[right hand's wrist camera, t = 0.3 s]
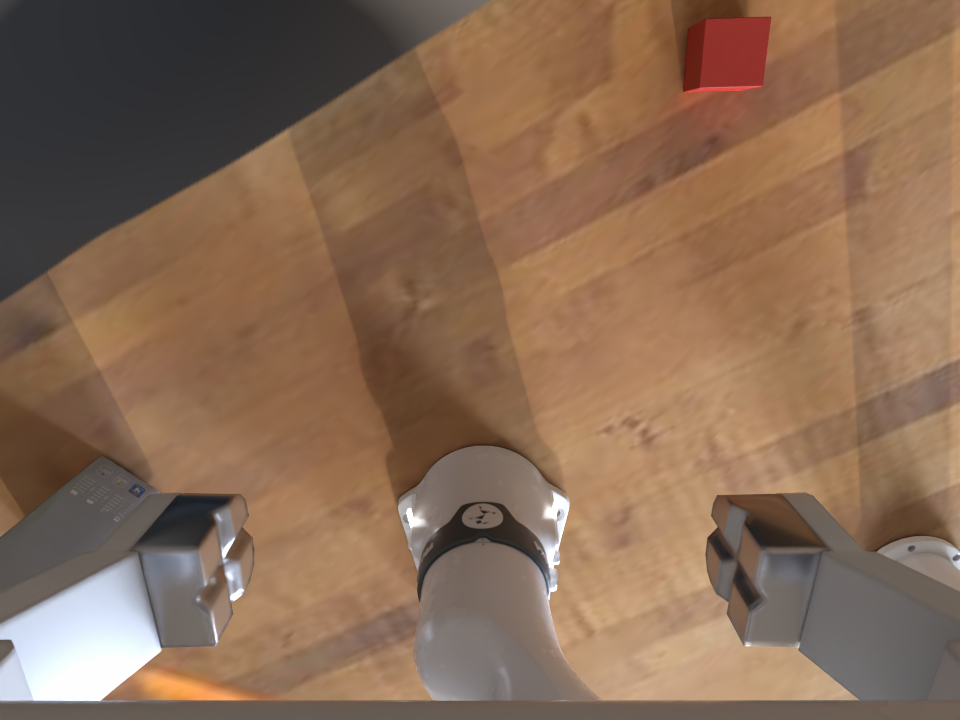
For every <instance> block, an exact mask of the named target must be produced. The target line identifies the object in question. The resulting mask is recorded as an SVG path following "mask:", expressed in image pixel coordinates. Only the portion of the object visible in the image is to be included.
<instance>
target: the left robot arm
mask: <svg viewBox="0 0 960 720" xmlns="http://www.w3.org/2000/svg"><path fill="white" fill-rule="evenodd" d="M877 552H878V553H880V554H882V555H884V556H886V557H888V558H890V559H893V560H895V561H897V562H899V563H901V564H903V565H905V566H907V567H909V568H912V569H914V570H916V571H918V572H920V573H922V574H924V575H926V576H928V577H931V578H933V579H935V580H937V581H939V582H941V583H943V584H945V585H947V586H949V587H952V588H954V589H956V590H958V591H960V550H958V549H957V548H956V547H955V546H954V545H952V544H951V543H949V542H947V541H945V540H943V539H940V538H937V537H931V536H913V537H908V538H903V539H900V540H897V541H895V542H892V543H890V544H888V545H886V546H884V547H882V548H881V549H879V550H878V551H877Z"/></svg>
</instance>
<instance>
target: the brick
mask: <svg viewBox="0 0 960 720" xmlns="http://www.w3.org/2000/svg"><path fill="white" fill-rule="evenodd" d="M770 23H771V17H747V18H715V19H705V20H703V21H701V22H699V23H698V24H696V25H694V26H692V27H690V28H689V29H688V41H687V53H686V65H685V77H684V89H683V92H712V91H742V90H747V89H752V88H757V87H762V86H763V79H764V71H765V63H766V55H767V47H768V39H769V31H770Z"/></svg>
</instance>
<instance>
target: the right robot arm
mask: <svg viewBox="0 0 960 720" xmlns="http://www.w3.org/2000/svg"><path fill="white" fill-rule="evenodd" d="M557 510H559V512H557ZM568 510H569V497H568V495H567V494H566V493H565V492H563V491H562V490H560V489H559V488H557V487H555V486H553V485H551V484H550V483H548V482H547V481H546V480H545V479H544V478H543V476H542V475H541V474H540V472H539V471H538V470H537V468H536V467H535V466H534V465H533V464H532V463H531V462H529V461H528V460H527V459H526V458H524V457H523V456H521V455H519V454H517V453H515V452H513V451H511V450H508V449H505V448H501V447H496V446H471V447H466V448H462V449H459V450H456V451H454V452H452V453H450V454H448V455H446V456H444V457H443V458H441V459H440V460H439V461H438V462H436V463H435V464H434V465H433V466H432V467H431V468H430V470H429V471H428V472H427V474H426V475H425V477H424V478H423V480H422V481H421V482H420V483H419V484H418V485H417V486H416V487H414V488H413V489H411V490H409V491H408V492H406V493H405V494H403V495H402V496H401V497H400V498H399V500H398V512H399V515H400V518H401V521H402V524H403V528H404V531H405V534H406V537H407V540H408V548H409V549H410V550H411V553H412V556H413V559H414V562H415V565H416V568H417V571H418V574H417V582H418V587H417V592H418V598H419V602H420V606H419V613H418V621H417V629H416V636H415V644H414V661H415V667H416V670H417V673H418V676H419V678H420V680H421V683H422V684H423V686H424V687H425V689H426V691H427V692H428V694H429V695H430V696H431V698H432V699H433V701H414V700H252V701H102V700H101V699H102V698H104V697H105V696H106V695H107V694H109V693H110V692H111V691H112V690H114V689H115V688H116V687H117V686H118V685H120V684H121V683H122V682H123V681H125V680H126V679H127V678H128V677H129V676H131V675H132V674H133V673H134V672H136V671H137V670H138V669H139V668H141V667H142V666H143V665H144V664H145V663H147V662H148V661H149V660H150V659H152V658H153V657H154V656H155V655H157V654H158V653H159V652H160V651H161V648H165V647H200V646H216V645H217V643H218V641H219V640H220V638H221V636H222V634H223V632H224V630H225V628H226V626H227V625H228V623H229V621H230V619H231V617H232V615H233V610H232V605H231V602H232V601H234V600H235V599H237V598H238V597H240V596H241V595H243V594H244V592H245V590H246V588H247V586H248V584H249V582H250V579H251V575H252V570H253V566H254V545H253V538H252V537H251V536H250V535H249V534H248V533H247V532H246V531H245V530H244V529H243V528H242V526H243V525H244V523H245V521H246V520H247V518H248V517H249V514H248V509H247V504H246V499H245V498H244V497H243V496H242V495H241V494H205V493H183V494H182V493H154V494H150V495H148V496H147V497H146V498H145V499H144V500H143V501H142V502H141V503H140V504H139V505H138V506H137V507H136V508H135V509H134V510H133V511H132V512H131V513H130V514H129V515H128V516H127V518H126V519H125V520H124V521H123V522H122V523H121V524H120V525H119V526H118V527H117V528H116V529H115V530H114V531H113V532H112V533H111V534H110V535H109V536H108V537H107V538H106V540H105V541H104V542H103V543H102V544H101V545H100V546H99V547H98V548H97V549H96V550H95V551H84V552H82V553H80V554H78V555H76V556H74V557H72V558H70V559H67V560H65V561H63V562H61V563H59V564H57V565H55V566H53V567H51V568H48V569H46V570H44V571H42V572H40V573H38V574H36V575H34V576H31V577H29V578H27V579H25V580H23V581H21V582H19V583H17V584H15V585H12V586H10V587H8V588H6V589H4V590H2V591H0V720H960V591H958V590H956V589H954V588H952V587H949V586H947V585H945V584H943V583H941V582H939V581H937V580H935V579H933V578H931V577H928V576H926V575H924V574H922V573H920V572H918V571H916V570H914V569H912V568H909V567H907V566H905V565H903V564H901V563H899V562H897V561H895V560H893V559H890V558H888V557H886V556H884V555H882V554H880V553H878V552H876V551H865V550H864V549H863V548H862V547H861V546H860V545H859V544H858V543H857V542H856V541H855V539H854V538H853V537H852V536H851V535H850V534H849V533H848V532H847V531H846V530H845V529H844V528H843V527H842V526H841V525H840V524H839V523H838V522H837V521H836V520H835V518H834V517H833V516H832V515H831V514H830V513H829V512H828V511H827V510H826V509H825V508H824V507H823V506H822V505H821V504H820V503H819V502H818V501H817V500H816V498H815V497H814V496H812V495H810V494H808V493H777V494H747V495H717V497H716V499H715V501H714V503H713V508H712V513H711V517H712V518H713V520H714V521H715V523H716V525H717V526H718V527H717V529H716V530H715V531H714V532H713V533H712V534H711V535H710V536H709V537H708V538H707V546H706V564H707V572H708V575H709V579H710V582H711V584H712V586H713V588H714V590H715V592H716V594H717V595H719V596H720V597H722V598H723V599H725V600H726V601H728V602H729V605H728V610H727V615H728V617H729V619H730V621H731V623H732V625H733V626H734V628H735V630H736V632H737V634H738V636H739V638H740V640H741V641H742V643H743V645H744V646H759V647H794V648H799V649H798V650H799V651H800V652H801V653H802V654H804V655H805V656H806V657H807V658H809V659H810V660H811V661H812V662H814V663H815V664H816V665H817V666H818V667H820V668H821V669H822V670H823V671H825V672H826V673H827V674H828V675H829V676H831V677H832V678H833V679H834V680H836V681H837V682H838V683H839V684H841V685H842V686H843V687H844V688H845V689H847V690H848V691H849V692H850V693H852V694H853V695H854V696H855V697H856V698H858V699H859V700H781V701H603V700H602V699H601V698H599V697H598V696H597V695H596V694H595V693H594V692H593V691H592V690H591V689H590V688H589V687H588V686H587V685H586V684H585V683H584V682H583V680H582V679H581V678H580V677H579V676H578V675H577V674H576V672H575V671H574V670H573V669H572V667H571V666H570V664H569V663H568V661H567V660H566V658H565V656H564V655H563V653H562V651H561V649H560V646H559V643H558V640H557V637H556V633H555V629H554V625H553V621H552V617H551V612H550V607H549V599H550V593H551V591H556V589H557V584H558V572H557V570H556V569H554V568H553V566H554V565H555V564H557V565H558V564H559V561H560V552H559V551H558V547H559V544H560V540H561V536H562V532H563V528H564V525H565V521H566V517H567V513H568Z"/></svg>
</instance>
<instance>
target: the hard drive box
mask: <svg viewBox="0 0 960 720" xmlns="http://www.w3.org/2000/svg"><path fill="white" fill-rule="evenodd" d="M154 493H159V491H157V490H156V489H154V488H153V487H151V486H149V485H148V484H146V483H145V482H143V481H141V480H140V479H138V478H137V477H135V476H134V475H132V474H131V473H129V472H127V471H126V470H124V469H123V468H121V467H120V466H118V465H116V464H115V463H113V462H112V461H110V460H109V459H107V458H105V457H104V456H100V457H99V458H97V459H96V460H95V461H93V462H92V463H91V464H90V465H88V466H87V467H86V468H85V469H83V470H82V471H81V472H80V473H78V474H77V475H76V476H75V477H74V478H72V479H71V480H70V481H69V482H67V483H66V484H65V485H64V486H62V487H61V488H60V489H59V490H58V491H56V492H55V493H54V494H53V495H51V496H50V497H49V498H48V499H47V500H45V501H44V502H43V503H42V504H40V505H39V506H38V507H37V508H36V509H34V510H33V511H32V512H31V513H29V514H28V515H27V516H26V517H25V518H23V519H22V520H21V521H20V522H18V523H17V524H16V525H15V526H14V527H12V528H11V529H10V530H9V531H7V532H6V533H5V534H4V535H2V536H1V537H0V591H2V590H4V589H6V588H8V587H10V586H12V585H15V584H17V583H19V582H21V581H23V580H25V579H27V578H29V577H31V576H34V575H36V574H38V573H40V572H42V571H44V570H46V569H48V568H51V567H53V566H55V565H57V564H59V563H61V562H63V561H65V560H67V559H70V558H72V557H74V556H76V555H78V554H80V553H82V552H84V551H95V550H96V549H97V548H98V547H99V546H100V545H101V544H102V543H103V542H104V541H105V540H106V538H107V537H108V536H109V535H110V534H111V533H112V532H113V531H114V530H115V529H116V528H117V527H118V526H119V525H120V524H121V523H122V522H123V521H124V520H125V519H126V518H127V516H128V515H129V514H130V513H131V512H132V511H133V510H134V509H135V508H136V507H137V506H138V505H139V504H140V503H141V502H142V501H143V500H144V499H145V498H146V497H147V496H148V495H150V494H154Z"/></svg>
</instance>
